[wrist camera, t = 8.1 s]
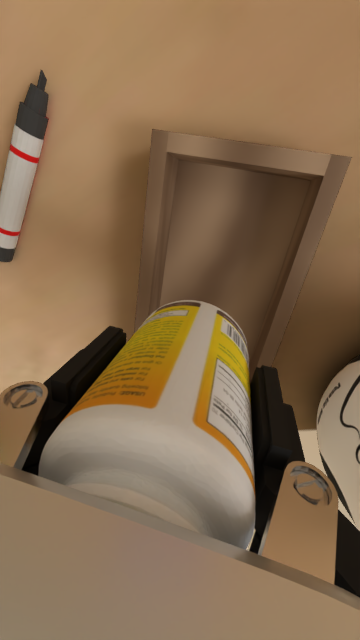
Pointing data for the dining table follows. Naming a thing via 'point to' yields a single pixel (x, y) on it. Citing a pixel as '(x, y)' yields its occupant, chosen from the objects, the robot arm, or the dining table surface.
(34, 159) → the marker
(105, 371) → the supplement bottle
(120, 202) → the dining table surface
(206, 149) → the brown wooden tray
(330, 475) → the milk container
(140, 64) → the dining table surface
